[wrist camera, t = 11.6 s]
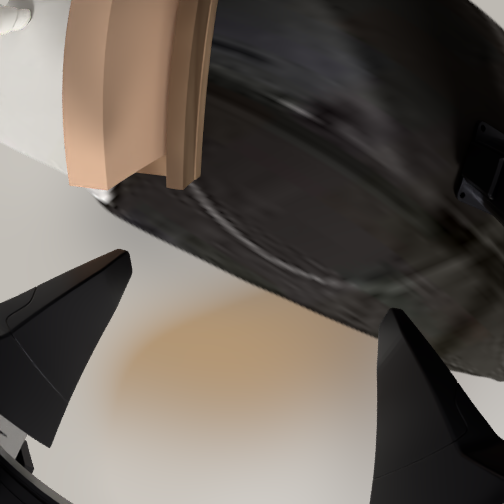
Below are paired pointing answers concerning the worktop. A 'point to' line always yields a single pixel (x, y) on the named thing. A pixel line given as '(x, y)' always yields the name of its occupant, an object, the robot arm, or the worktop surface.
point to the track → (187, 94)
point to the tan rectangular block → (116, 87)
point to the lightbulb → (13, 19)
